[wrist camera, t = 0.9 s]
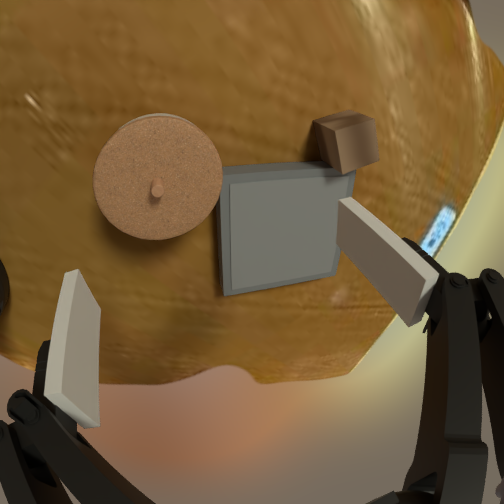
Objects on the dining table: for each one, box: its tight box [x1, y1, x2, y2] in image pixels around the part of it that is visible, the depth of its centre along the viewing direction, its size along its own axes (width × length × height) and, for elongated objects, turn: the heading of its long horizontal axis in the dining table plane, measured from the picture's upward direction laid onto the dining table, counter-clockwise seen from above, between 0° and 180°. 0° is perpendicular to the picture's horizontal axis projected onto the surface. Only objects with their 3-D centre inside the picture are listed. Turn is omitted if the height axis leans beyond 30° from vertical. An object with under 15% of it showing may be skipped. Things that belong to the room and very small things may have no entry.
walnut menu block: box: [313, 110, 379, 174], centre depth 32 cm, size 5×5×5 cm
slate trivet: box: [216, 161, 356, 296], centre depth 37 cm, size 16×16×3 cm
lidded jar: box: [93, 113, 223, 240], centre depth 26 cm, size 11×11×9 cm
